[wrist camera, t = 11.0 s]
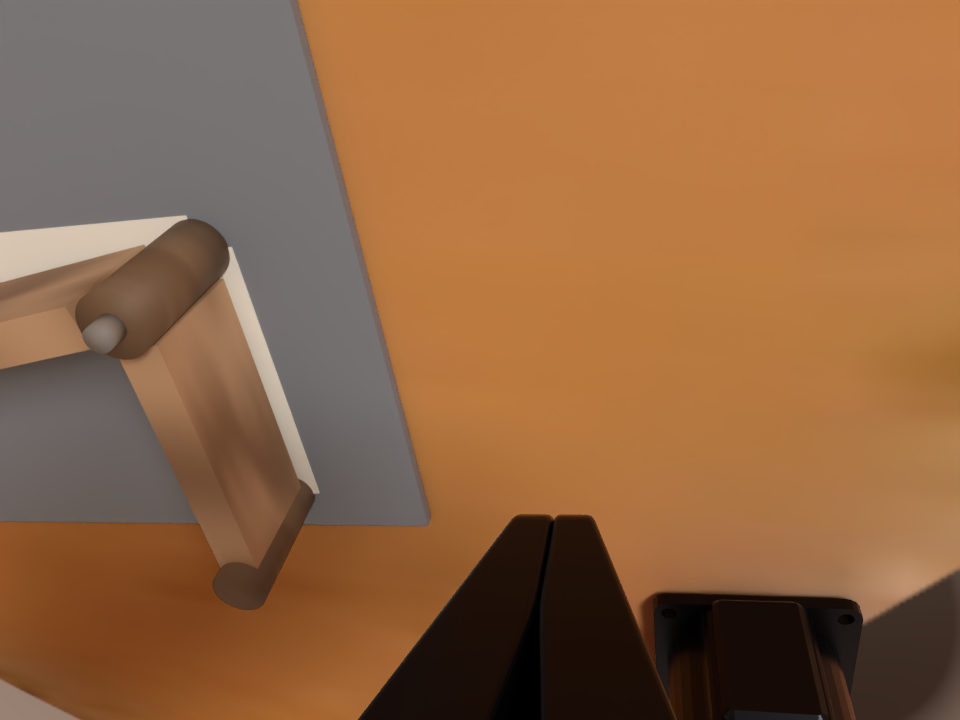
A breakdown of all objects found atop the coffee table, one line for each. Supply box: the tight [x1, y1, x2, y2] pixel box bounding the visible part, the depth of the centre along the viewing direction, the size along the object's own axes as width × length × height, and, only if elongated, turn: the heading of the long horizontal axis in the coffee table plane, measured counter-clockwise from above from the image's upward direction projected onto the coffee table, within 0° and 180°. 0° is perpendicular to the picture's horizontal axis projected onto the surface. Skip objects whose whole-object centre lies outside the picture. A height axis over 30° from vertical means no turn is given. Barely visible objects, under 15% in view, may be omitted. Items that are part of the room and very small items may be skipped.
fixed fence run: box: [75, 219, 315, 610], centre depth 21 cm, size 11×2×5 cm, turn 9°
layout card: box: [0, 0, 431, 526], centre depth 21 cm, size 24×19×1 cm
